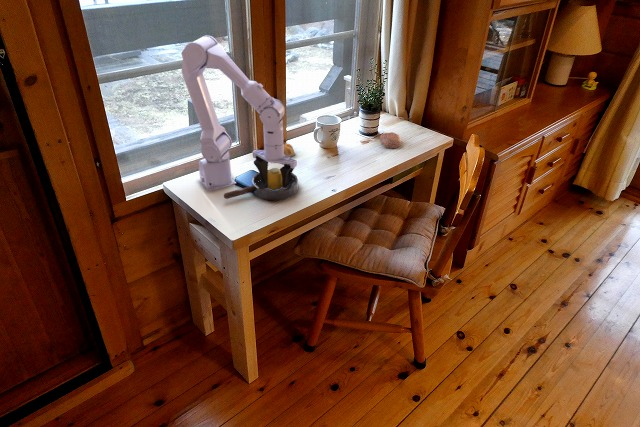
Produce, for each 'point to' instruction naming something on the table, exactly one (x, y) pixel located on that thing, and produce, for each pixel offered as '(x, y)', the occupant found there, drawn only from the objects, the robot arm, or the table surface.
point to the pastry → (288, 150)
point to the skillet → (274, 195)
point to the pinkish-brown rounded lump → (390, 140)
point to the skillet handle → (239, 192)
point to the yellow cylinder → (274, 179)
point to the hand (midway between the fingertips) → (275, 182)
